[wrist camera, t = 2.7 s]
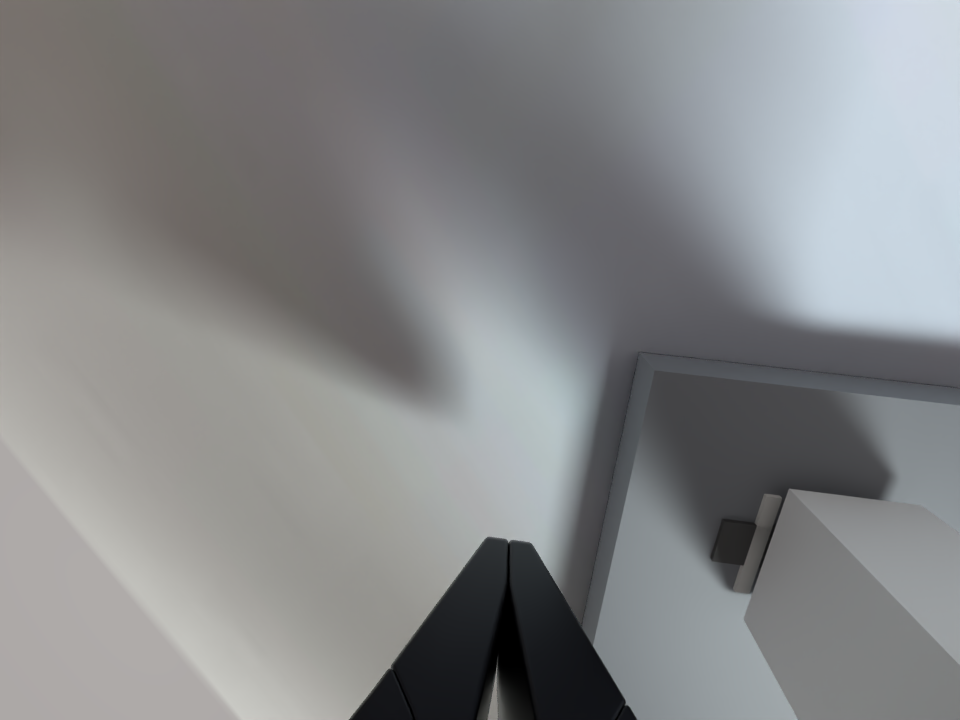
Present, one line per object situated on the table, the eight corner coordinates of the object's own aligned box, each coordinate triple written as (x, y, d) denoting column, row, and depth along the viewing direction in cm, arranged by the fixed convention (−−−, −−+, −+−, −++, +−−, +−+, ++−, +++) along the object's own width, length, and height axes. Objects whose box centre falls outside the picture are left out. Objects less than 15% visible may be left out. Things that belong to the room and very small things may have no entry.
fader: (863, 637, 10) (1284, 1163, 4) (740, 620, 10) (1000, 1108, 4) (925, 503, 9) (1576, 972, 3) (787, 486, 9) (1199, 911, 3)
